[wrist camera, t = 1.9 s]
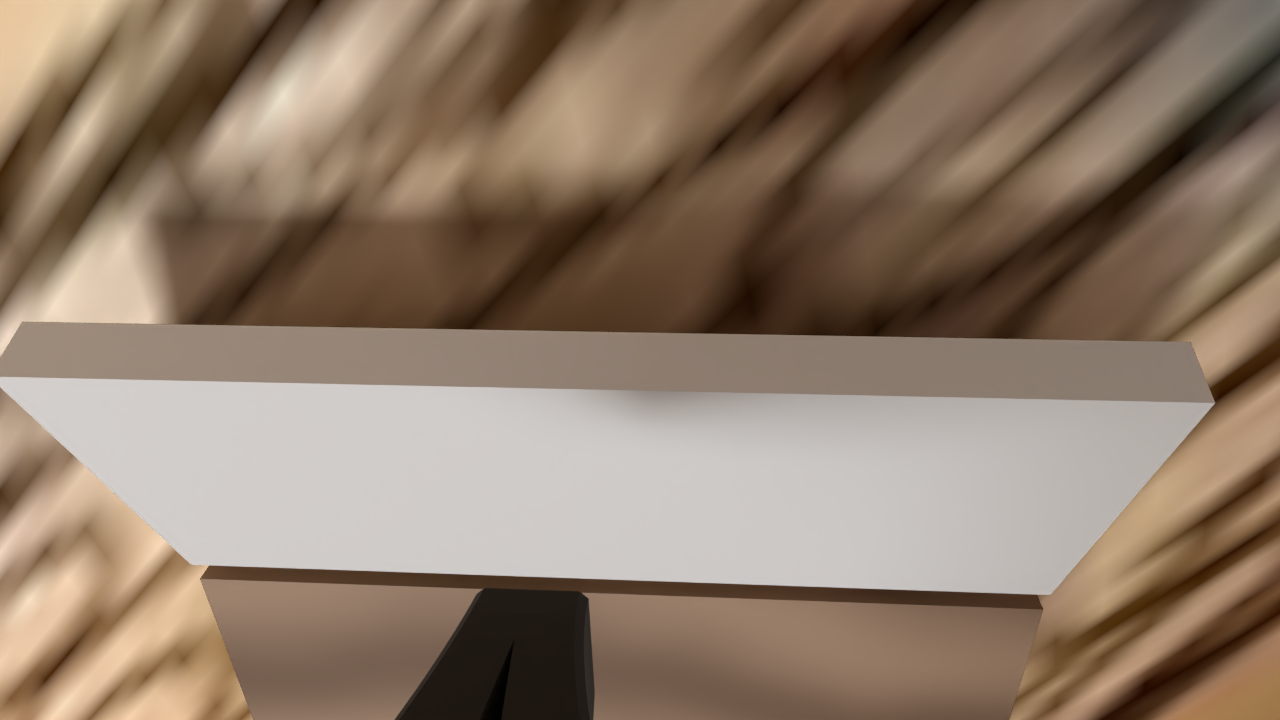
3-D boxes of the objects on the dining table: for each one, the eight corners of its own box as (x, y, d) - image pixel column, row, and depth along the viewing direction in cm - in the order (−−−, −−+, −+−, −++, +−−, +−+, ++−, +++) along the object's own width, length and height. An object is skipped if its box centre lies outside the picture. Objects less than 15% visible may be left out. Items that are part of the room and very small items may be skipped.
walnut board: (974, 753, 25) (985, 793, 24) (284, 721, 26) (267, 758, 25) (1027, 571, 21) (1043, 609, 20) (223, 544, 23) (200, 578, 22)
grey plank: (1039, 545, 21) (1050, 594, 20) (208, 519, 22) (191, 564, 21) (1191, 342, 14) (1215, 403, 14) (22, 321, 16) (-11, 376, 15)
